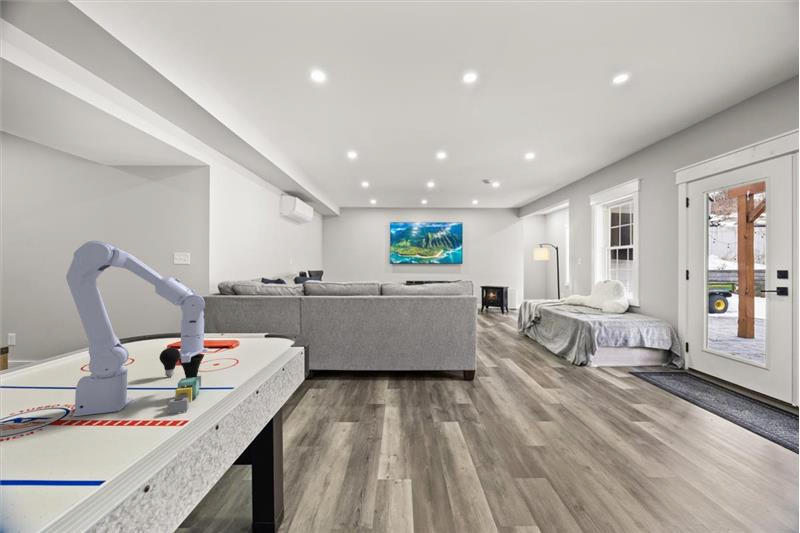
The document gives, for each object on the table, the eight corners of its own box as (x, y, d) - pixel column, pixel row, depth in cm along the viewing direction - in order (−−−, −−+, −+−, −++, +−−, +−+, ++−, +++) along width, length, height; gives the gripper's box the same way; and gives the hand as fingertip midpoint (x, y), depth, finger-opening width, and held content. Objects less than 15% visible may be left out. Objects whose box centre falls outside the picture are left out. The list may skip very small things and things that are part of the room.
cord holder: (186, 411, 81) (187, 395, 81) (168, 414, 79) (168, 397, 79) (204, 385, 100) (204, 371, 100) (189, 386, 99) (190, 372, 99)
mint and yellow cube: (177, 400, 87) (177, 383, 87) (181, 395, 91) (181, 378, 91) (195, 398, 89) (196, 381, 89) (199, 393, 92) (199, 376, 92)
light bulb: (184, 374, 110) (184, 346, 111) (170, 380, 105) (171, 350, 105) (168, 373, 111) (169, 345, 111) (154, 379, 105) (155, 349, 105)
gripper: (202, 338, 88) (201, 387, 87) (212, 329, 101) (211, 372, 101) (172, 340, 85) (171, 390, 85) (187, 331, 99) (186, 374, 98)
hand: (191, 380), depth 93 cm, fingers closed
